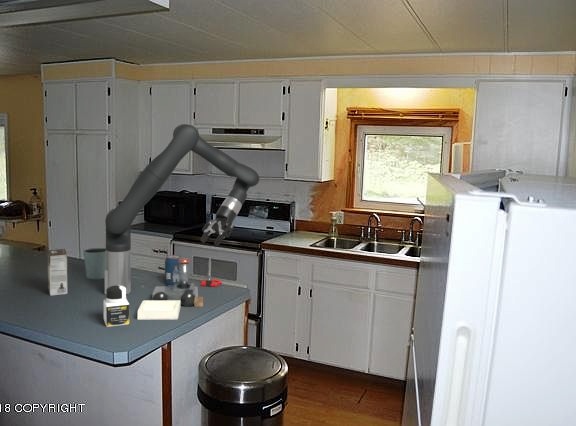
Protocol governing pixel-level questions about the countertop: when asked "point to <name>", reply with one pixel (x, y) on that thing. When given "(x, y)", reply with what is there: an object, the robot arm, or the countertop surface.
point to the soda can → (172, 270)
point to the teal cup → (95, 262)
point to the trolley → (176, 294)
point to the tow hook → (209, 280)
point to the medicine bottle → (116, 306)
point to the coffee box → (57, 271)
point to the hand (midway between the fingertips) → (208, 243)
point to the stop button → (184, 272)
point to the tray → (159, 309)
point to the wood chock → (198, 302)
